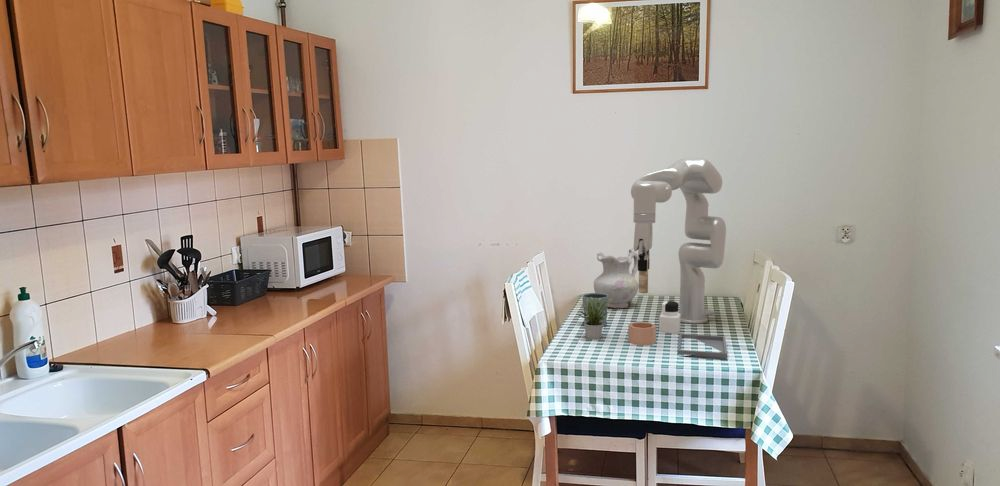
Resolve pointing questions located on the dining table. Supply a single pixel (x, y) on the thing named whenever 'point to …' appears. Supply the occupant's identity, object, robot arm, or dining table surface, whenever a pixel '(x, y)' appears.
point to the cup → (642, 333)
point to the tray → (712, 341)
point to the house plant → (594, 319)
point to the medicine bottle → (669, 318)
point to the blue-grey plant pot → (596, 297)
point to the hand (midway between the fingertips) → (643, 269)
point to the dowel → (643, 280)
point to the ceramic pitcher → (617, 279)
